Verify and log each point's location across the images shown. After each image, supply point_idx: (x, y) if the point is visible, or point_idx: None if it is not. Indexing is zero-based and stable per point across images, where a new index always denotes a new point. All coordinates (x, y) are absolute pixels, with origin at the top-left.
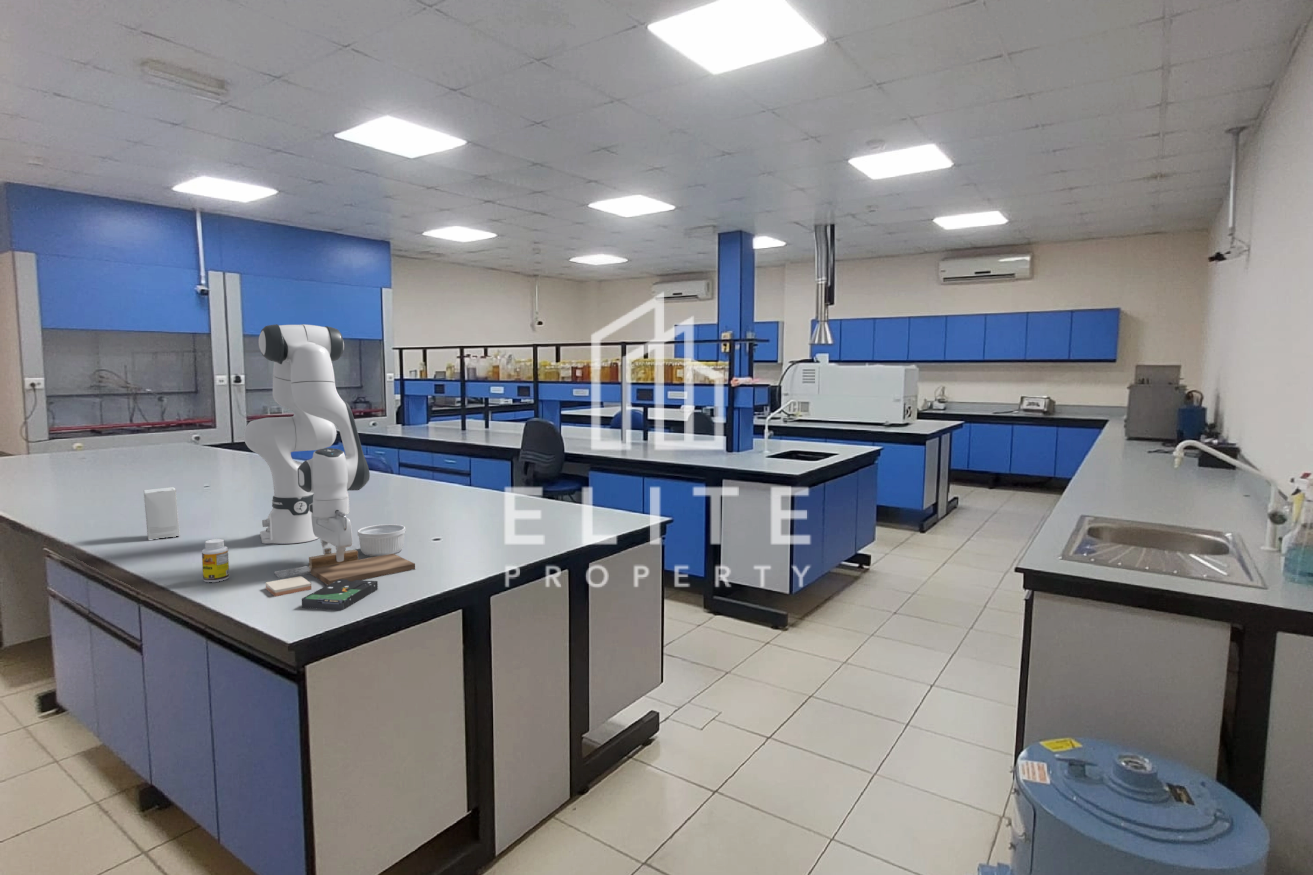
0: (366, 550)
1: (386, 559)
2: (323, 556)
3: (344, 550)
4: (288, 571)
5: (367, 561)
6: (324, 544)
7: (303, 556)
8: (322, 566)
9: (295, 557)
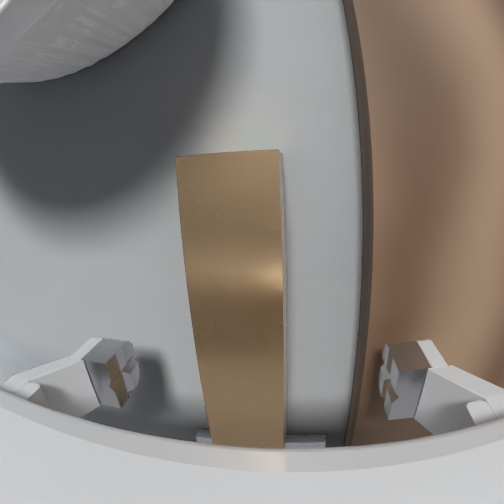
0: (106, 45)
1: (482, 21)
2: (267, 443)
3: (493, 391)
4: None
5: (468, 145)
6: (67, 409)
7: (4, 351)
8: (354, 430)
9: (11, 376)
